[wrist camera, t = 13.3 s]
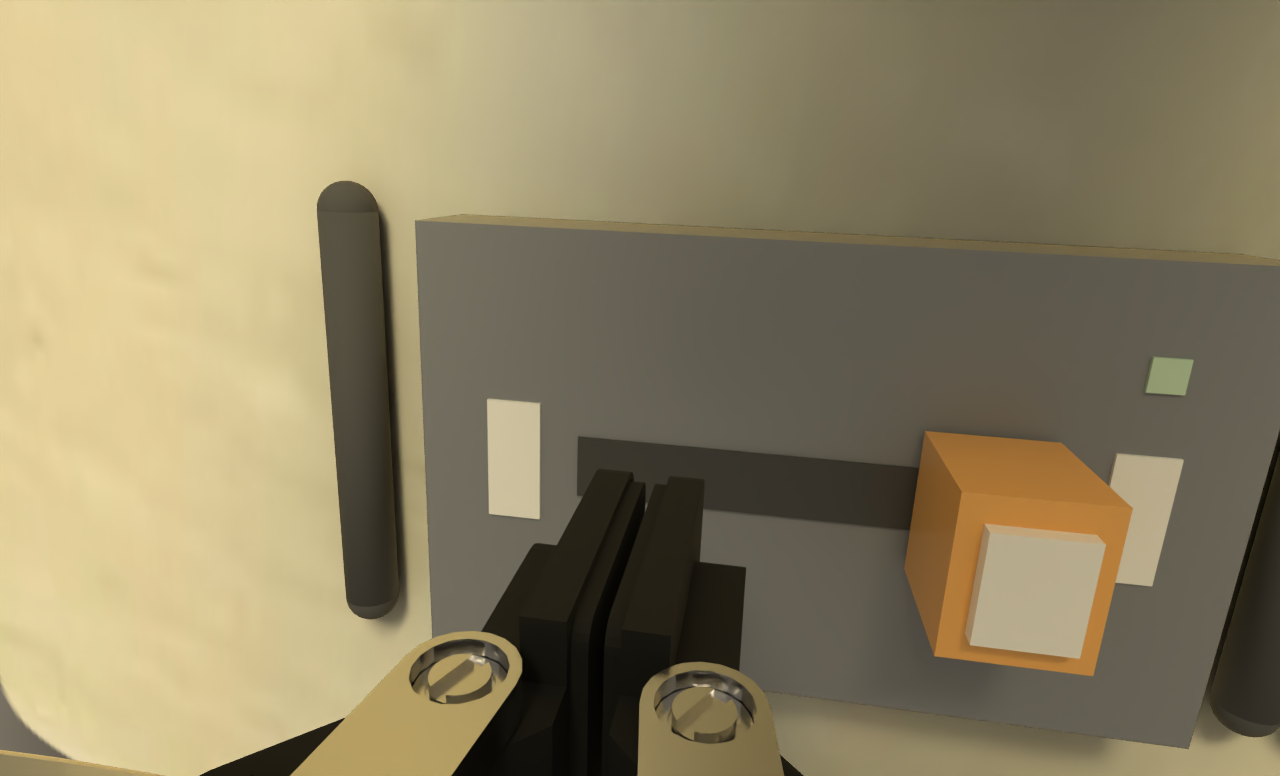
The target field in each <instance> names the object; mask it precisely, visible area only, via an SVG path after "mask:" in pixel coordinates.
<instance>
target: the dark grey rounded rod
mask: <svg viewBox="0 0 1280 776" xmlns="http://www.w3.org/2000/svg"><path fill="white" fill-rule="evenodd" d="M317 218H318V231H319V244H320V257H321V270H322V284H323V297H324V310H325V323H326V336H327V349H328V363H329V376H330V389H331V402H332V415H333V429H334V442H335V455H336V468H337V481H338V494H339V508H340V521H341V534H342V547H343V560H344V574H345V587H346V599H347V603H348V605H349V608H350V609H351V610H352V611H353V613H354V614H356V615H357V616H359V617H361V618H365V619H377V618H380V617H382V616H384V615H386V614H387V613H389V612H390V611H391V610H392V609H393V607H394V606H395V604H396V602H397V599H398V596H399V581H398V563H397V544H396V526H395V507H394V489H393V470H392V452H391V434H390V415H389V397H388V378H387V360H386V341H385V323H384V304H383V286H382V267H381V249H380V231H379V212H378V206H377V203H376V200H375V198H374V197H373V195H372V194H371V193H370V191H369V190H368V189H366V188H365V187H364V186H362V185H360V184H358V183H355V182H352V181H339V182H335V183H333V184H331V185H329V186H328V187H327V188H325V189H324V190H323V192H322V193H321V195H320V197H319V199H318V203H317Z"/></svg>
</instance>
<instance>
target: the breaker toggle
mask: <svg viewBox="0 0 1280 776" xmlns="http://www.w3.org/2000/svg"><path fill="white" fill-rule="evenodd" d="M1132 510H1133V508H1132V507H1131V506H1130V505H1129V504H1128V503H1127V502H1126V501H1124V500H1123V499H1122V498H1121V497H1120V496H1119V495H1118V494H1117V493H1116V492H1115V491H1114V490H1112V489H1111V488H1110V487H1109V486H1108V485H1107V484H1106V483H1105V482H1104V481H1103V480H1102V479H1100V478H1099V477H1098V476H1097V475H1096V474H1095V473H1094V472H1093V471H1092V470H1091V469H1090V468H1088V467H1087V466H1086V465H1085V464H1084V463H1083V462H1082V461H1081V460H1080V459H1079V458H1078V457H1076V456H1075V455H1074V454H1073V453H1072V452H1071V451H1070V450H1069V449H1068V448H1067V447H1066V446H1065V445H1063V444H1062V443H1059V442H1048V441H1036V440H1024V439H1013V438H1001V437H989V436H978V435H966V434H954V433H943V432H931V431H925V433H924V440H923V447H922V453H921V460H920V467H919V473H918V480H917V487H916V493H915V500H914V507H913V513H912V520H911V526H910V533H909V540H908V546H907V553H906V560H905V566H904V570H905V573H906V575H907V578H908V581H909V584H910V587H911V590H912V593H913V596H914V599H915V602H916V605H917V607H918V610H919V613H920V616H921V619H922V622H923V625H924V628H925V631H926V634H927V637H928V640H929V642H930V645H931V648H932V651H933V654H934V656H937V657H945V658H953V659H961V660H968V661H976V662H984V663H992V664H1000V665H1008V666H1016V667H1024V668H1032V669H1040V670H1048V671H1056V672H1063V673H1071V674H1079V675H1087V676H1093V675H1094V671H1095V667H1096V662H1097V658H1098V654H1099V650H1100V645H1101V641H1102V637H1103V633H1104V629H1105V624H1106V620H1107V616H1108V612H1109V607H1110V603H1111V599H1112V595H1113V591H1114V586H1115V582H1116V578H1117V574H1118V569H1119V565H1120V561H1121V557H1122V553H1123V548H1124V544H1125V540H1126V536H1127V531H1128V527H1129V523H1130V519H1131V515H1132Z"/></svg>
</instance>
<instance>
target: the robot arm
mask: <svg viewBox="0 0 1280 776" xmlns="http://www.w3.org/2000/svg"><path fill="white" fill-rule="evenodd" d="M704 488H705V480H704V479H697V478H687V477H677V476H669V479H668V482H667V485H665V484H655V485H654V488H653V491H652V494H651V497H650V499H649V502H648V505H647V508H646V511H645V501H646V485H645V482H635V481H634V475H633V472H627V471H617V470H607V469H598V470H597V471H596V473H595V475H594V476H593V478H592V480H591V482H590V484H589V486H588V488H587V490H586V491H585V493H584V495H583V497H582V499H581V501H580V503H579V505H578V506H577V508H576V510H575V512H574V514H573V516H572V518H571V519H570V521H569V523H568V525H567V527H566V529H565V531H564V533H563V534H562V536H561V538H560V540H559V542H558V544H557V545H552V544H543V543H534V545H533V546H532V547H531V548H530V550H529V552H528V553H527V555H526V557H525V558H524V560H523V562H522V563H521V565H520V567H519V568H518V570H517V572H516V573H515V575H514V577H513V579H512V580H511V582H510V584H509V585H508V587H507V589H506V590H505V592H504V594H503V595H502V597H501V599H500V600H499V602H498V604H497V605H496V607H495V609H494V610H493V612H492V614H491V616H490V617H489V619H488V621H487V622H486V624H485V626H484V627H483V629H482V631H481V632H478V631H464V632H453V633H449V634H445V635H441V636H437V637H435V638H433V639H430V640H428V641H426V642H424V643H422V644H420V645H419V646H417V647H416V648H415V649H413V650H412V651H411V652H410V653H408V654H407V655H406V656H405V657H404V658H403V659H402V660H401V661H400V662H399V663H398V664H397V665H396V666H395V667H394V668H393V669H392V670H391V672H390V673H389V674H388V675H387V676H386V677H385V678H384V679H383V680H382V681H381V682H380V683H379V684H378V685H377V686H376V687H375V688H374V689H373V690H372V691H371V692H370V693H369V694H368V695H367V696H366V697H365V698H364V700H363V701H362V702H361V703H360V704H359V705H358V706H357V707H356V708H355V709H354V710H353V711H352V712H351V713H350V714H349V715H348V716H347V717H346V718H343V719H341V720H338V721H335V722H333V723H330V724H328V725H325V726H323V727H320V728H317V729H315V730H312V731H310V732H307V733H305V734H302V735H300V736H297V737H294V738H292V739H289V740H287V741H284V742H282V743H279V744H276V745H274V746H271V747H269V748H266V749H264V750H261V751H258V752H256V753H253V754H251V755H248V756H246V757H243V758H240V759H238V760H235V761H233V762H230V763H228V764H225V765H222V766H220V767H217V768H215V769H212V770H210V771H208V772H206V773H204V774H202V775H200V776H803V775H802V774H801V773H800V772H799V771H798V770H797V769H795V768H794V767H793V766H792V765H791V764H790V763H789V762H788V761H786V760H785V759H784V758H783V757H782V756H781V755H780V753H779V748H778V743H777V738H776V733H775V728H774V723H773V718H772V713H771V708H770V705H769V703H768V700H767V698H766V696H765V693H764V692H763V691H762V690H761V689H760V688H759V687H758V685H757V684H756V683H755V682H754V681H753V680H751V679H750V678H748V677H747V676H745V675H744V674H742V673H741V672H739V668H740V653H741V638H742V623H743V608H744V594H745V579H746V567H741V566H732V565H724V564H715V563H707V562H700V552H701V536H702V520H703V505H704ZM0 776H164V775H158V774H152V773H146V772H140V771H134V770H128V769H122V768H117V767H111V766H105V765H99V764H93V763H87V762H81V761H75V760H69V759H63V758H57V757H50V756H43V755H34V754H27V753H20V752H12V751H4V750H0Z"/></svg>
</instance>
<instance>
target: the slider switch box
mask: <svg viewBox="0 0 1280 776" xmlns="http://www.w3.org/2000/svg"><path fill="white" fill-rule="evenodd" d="M415 229H416V253H417V277H418V302H419V326H420V350H421V374H422V398H423V422H424V447H425V471H426V495H427V519H428V543H429V567H430V592H431V616H432V639H433V638H435V637H437V636H441V635H445V634H449V633H453V632H464V631H478V632H481V631H482V629H483V627H484V626H485V624H486V622H487V621H488V619H489V617H490V616H491V614H492V612H493V610H494V609H495V607H496V605H497V604H498V602H499V600H500V599H501V597H502V595H503V594H504V592H505V590H506V589H507V587H508V585H509V584H510V582H511V580H512V579H513V577H514V575H515V573H516V572H517V570H518V568H519V567H520V565H521V563H522V562H523V560H524V558H525V557H526V555H527V553H528V552H529V550H530V548H531V547H532V546H533V545H534V543H543V544H552V545H557V544H558V542H559V540H560V538H561V536H562V534H563V533H564V531H565V529H566V527H567V525H568V523H569V521H570V519H571V518H572V516H573V514H574V512H575V510H576V508H577V506H578V505H579V503H580V501H581V499H582V497H583V495H584V493H585V491H586V490H587V488H588V486H589V484H590V482H591V480H592V478H593V476H594V475H595V473H596V471H597V470H598V469H607V470H617V471H627V472H633V475H634V481H635V482H645V485H646V501H645V511H646V508H647V505H648V502H649V499H650V497H651V494H652V491H653V488H654V485H655V484H665V485H667V482H668V479H669V476H677V477H687V478H697V479H704V480H705V488H704V505H703V520H702V536H701V552H700V562H707V563H715V564H724V565H732V566H741V567H746V579H745V594H744V608H743V623H742V638H741V653H740V668H739V672H741V673H742V674H744V675H745V676H747V677H748V678H750V679H751V680H753V681H754V682H755V683H756V684H757V685H758V687H759V688H760V689H761V690H762V691H768V692H776V693H783V694H790V695H798V696H805V697H812V698H820V699H827V700H834V701H841V702H849V703H856V704H863V705H871V706H878V707H885V708H893V709H900V710H907V711H915V712H922V713H929V714H936V715H944V716H951V717H958V718H966V719H973V720H980V721H988V722H995V723H1002V724H1009V725H1017V726H1024V727H1031V728H1039V729H1046V730H1053V731H1061V732H1068V733H1075V734H1083V735H1090V736H1097V737H1104V738H1112V739H1119V740H1126V741H1134V742H1141V743H1148V744H1156V745H1163V746H1170V747H1177V748H1185V749H1189V746H1190V742H1191V739H1192V735H1193V732H1194V728H1195V725H1196V721H1197V718H1198V714H1199V711H1200V707H1201V704H1202V700H1203V697H1204V693H1205V690H1206V686H1207V683H1208V679H1209V676H1210V672H1211V669H1212V665H1213V662H1214V658H1215V655H1216V651H1217V648H1218V644H1219V641H1220V637H1221V634H1222V630H1223V627H1224V623H1225V620H1226V616H1227V613H1228V609H1229V606H1230V602H1231V599H1232V595H1233V592H1234V588H1235V585H1236V581H1237V578H1238V574H1239V571H1240V567H1241V564H1242V560H1243V557H1244V553H1245V550H1246V546H1247V543H1248V539H1249V536H1250V532H1251V529H1252V525H1253V522H1254V518H1255V515H1256V511H1257V508H1258V504H1259V501H1260V497H1261V494H1262V490H1263V487H1264V483H1265V480H1266V476H1267V473H1268V469H1269V466H1270V462H1271V459H1272V455H1273V452H1274V448H1275V445H1276V441H1277V438H1278V434H1279V431H1280V261H1278V260H1272V259H1266V258H1261V257H1255V256H1249V255H1243V254H1228V253H1208V252H1189V251H1169V250H1150V249H1130V248H1110V247H1091V246H1071V245H1052V244H1032V243H1012V242H993V241H973V240H954V239H934V238H914V237H895V236H875V235H856V234H836V233H816V232H797V231H777V230H758V229H738V228H718V227H699V226H679V225H660V224H640V223H620V222H601V221H581V220H562V219H542V218H523V217H503V216H483V215H464V214H461V215H454V216H446V217H438V218H431V219H423V220H416V221H415ZM925 431H931V432H943V433H954V434H966V435H978V436H989V437H1001V438H1013V439H1024V440H1036V441H1048V442H1059V443H1062V444H1063V445H1065V446H1066V447H1067V448H1068V449H1069V450H1070V451H1071V452H1072V453H1073V454H1074V455H1075V456H1076V457H1078V458H1079V459H1080V460H1081V461H1082V462H1083V463H1084V464H1085V465H1086V466H1087V467H1088V468H1090V469H1091V470H1092V471H1093V472H1094V473H1095V474H1096V475H1097V476H1098V477H1099V478H1100V479H1102V480H1103V481H1104V482H1105V483H1106V484H1107V485H1108V486H1109V487H1110V488H1111V489H1112V490H1114V491H1115V492H1116V493H1117V494H1118V495H1119V496H1120V497H1121V498H1122V499H1123V500H1124V501H1126V502H1127V503H1128V504H1129V505H1130V506H1131V507H1132V508H1133V510H1132V515H1131V519H1130V523H1129V527H1128V531H1127V536H1126V540H1125V544H1124V548H1123V553H1122V557H1121V561H1120V565H1119V569H1118V574H1117V578H1116V582H1115V586H1114V591H1113V595H1112V599H1111V603H1110V607H1109V612H1108V616H1107V620H1106V624H1105V629H1104V633H1103V637H1102V641H1101V645H1100V650H1099V654H1098V658H1097V662H1096V667H1095V671H1094V675H1093V676H1087V675H1079V674H1071V673H1063V672H1056V671H1048V670H1040V669H1032V668H1024V667H1016V666H1008V665H1000V664H992V663H984V662H976V661H968V660H961V659H953V658H945V657H937V656H934V654H933V651H932V648H931V645H930V642H929V640H928V637H927V634H926V631H925V628H924V625H923V622H922V619H921V616H920V613H919V610H918V607H917V605H916V602H915V599H914V596H913V593H912V590H911V587H910V584H909V581H908V578H907V575H906V573H905V570H904V566H905V560H906V553H907V546H908V540H909V533H910V526H911V520H912V513H913V507H914V500H915V493H916V487H917V480H918V473H919V467H920V460H921V453H922V447H923V440H924V433H925Z"/></svg>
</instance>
